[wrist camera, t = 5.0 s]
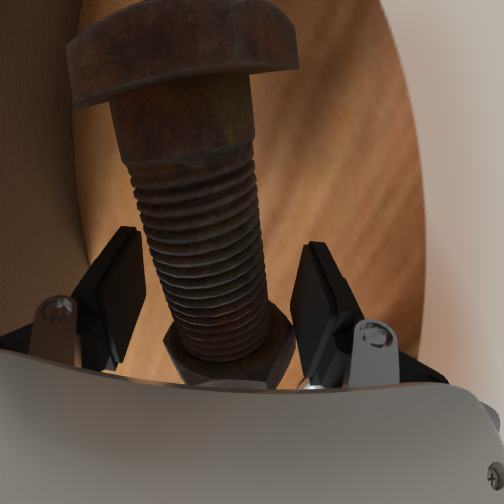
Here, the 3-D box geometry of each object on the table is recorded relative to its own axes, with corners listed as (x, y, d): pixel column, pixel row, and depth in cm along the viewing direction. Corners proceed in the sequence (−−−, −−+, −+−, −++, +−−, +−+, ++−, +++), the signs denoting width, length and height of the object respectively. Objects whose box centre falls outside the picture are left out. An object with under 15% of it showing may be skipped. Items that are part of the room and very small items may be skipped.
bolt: (229, 347, 16) (173, 49, 9) (313, 373, 14) (310, 22, 6) (170, 425, 12) (20, 71, 4) (264, 471, 10) (166, -37, 2)
